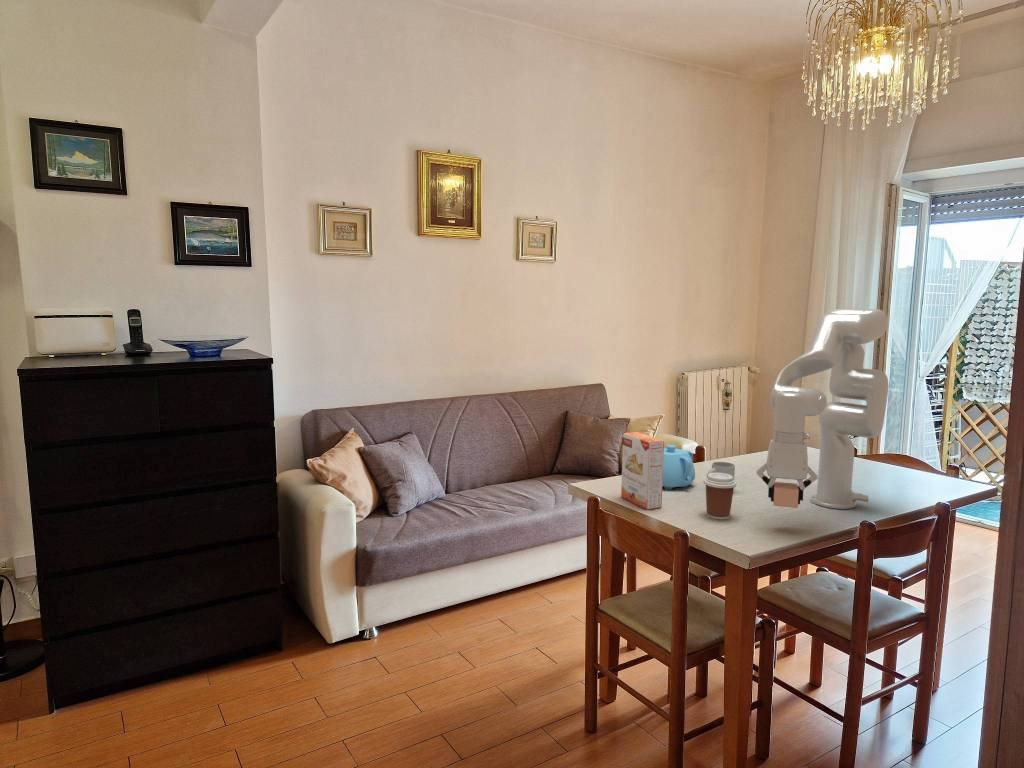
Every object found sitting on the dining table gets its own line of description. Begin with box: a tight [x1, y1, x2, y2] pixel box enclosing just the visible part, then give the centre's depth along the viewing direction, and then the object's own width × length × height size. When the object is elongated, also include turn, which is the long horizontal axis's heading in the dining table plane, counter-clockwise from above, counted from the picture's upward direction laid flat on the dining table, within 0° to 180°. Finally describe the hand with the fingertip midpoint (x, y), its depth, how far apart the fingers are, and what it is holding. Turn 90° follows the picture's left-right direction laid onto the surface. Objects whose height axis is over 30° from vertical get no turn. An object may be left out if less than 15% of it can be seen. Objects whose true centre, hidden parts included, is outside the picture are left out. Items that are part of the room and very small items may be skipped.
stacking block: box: [772, 481, 799, 509], centre depth 180 cm, size 6×6×5 cm
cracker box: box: [620, 431, 665, 511], centre depth 202 cm, size 14×6×21 cm, turn 23°
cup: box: [705, 461, 736, 481], centre depth 216 cm, size 7×10×9 cm
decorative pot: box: [662, 444, 696, 490], centre depth 223 cm, size 16×16×14 cm
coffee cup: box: [703, 473, 737, 520], centre depth 191 cm, size 9×9×12 cm
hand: (785, 500), depth 180 cm, fingers closed on stacking block, 6 cm apart
